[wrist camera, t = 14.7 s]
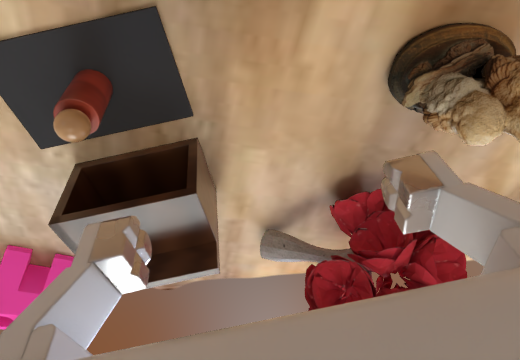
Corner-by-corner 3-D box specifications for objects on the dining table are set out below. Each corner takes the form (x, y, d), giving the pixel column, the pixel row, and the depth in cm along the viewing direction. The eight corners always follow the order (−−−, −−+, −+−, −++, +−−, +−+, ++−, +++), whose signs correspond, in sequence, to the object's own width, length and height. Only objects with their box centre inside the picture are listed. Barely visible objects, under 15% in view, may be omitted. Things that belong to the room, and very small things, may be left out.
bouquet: (294, 239, 74) (451, 269, 61) (250, 342, 58) (451, 412, 45) (279, 158, 60) (476, 176, 48) (217, 263, 44) (488, 330, 32)
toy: (85, 106, 40) (58, 157, 33) (65, 73, 38) (32, 120, 30) (119, 98, 40) (100, 147, 33) (102, 65, 38) (77, 110, 30)
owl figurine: (367, 111, 46) (430, 197, 34) (395, 19, 39) (489, 86, 26) (485, 110, 49) (585, 190, 36) (533, 24, 41) (681, 86, 29)
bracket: (65, 293, 65) (47, 349, 57) (2, 285, 61) (-27, 343, 53) (77, 257, 59) (59, 314, 51) (8, 245, 54) (-24, 304, 47)
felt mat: (42, 147, 44) (41, 149, 43) (-33, 48, 35) (-35, 49, 35) (193, 114, 43) (193, 116, 43) (155, 5, 35) (155, 7, 34)
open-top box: (109, 213, 53) (84, 302, 41) (75, 164, 46) (34, 254, 35) (216, 190, 52) (220, 273, 41) (197, 137, 46) (196, 219, 35)
